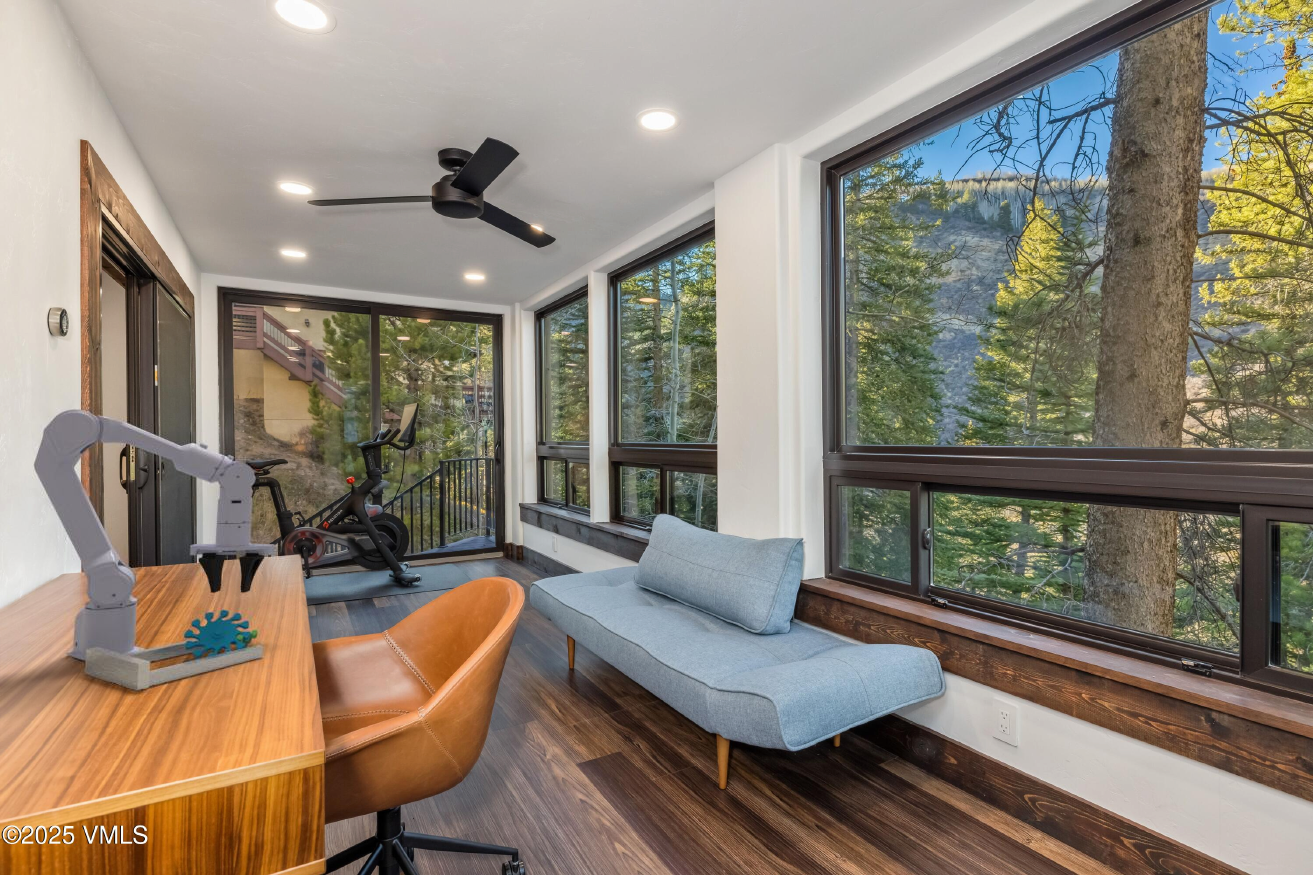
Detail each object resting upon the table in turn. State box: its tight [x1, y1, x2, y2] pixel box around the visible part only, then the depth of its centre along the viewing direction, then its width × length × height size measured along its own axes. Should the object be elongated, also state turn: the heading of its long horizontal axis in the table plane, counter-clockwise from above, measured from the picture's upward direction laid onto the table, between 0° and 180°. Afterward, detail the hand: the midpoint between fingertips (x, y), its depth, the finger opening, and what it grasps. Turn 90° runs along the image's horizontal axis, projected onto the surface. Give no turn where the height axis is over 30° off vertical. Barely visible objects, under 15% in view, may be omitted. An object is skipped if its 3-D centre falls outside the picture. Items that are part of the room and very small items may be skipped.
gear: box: [183, 609, 259, 660], centre depth 116 cm, size 11×6×10 cm
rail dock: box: [84, 638, 264, 692], centre depth 109 cm, size 16×20×4 cm
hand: (230, 591), depth 125 cm, fingers open, 5 cm apart
